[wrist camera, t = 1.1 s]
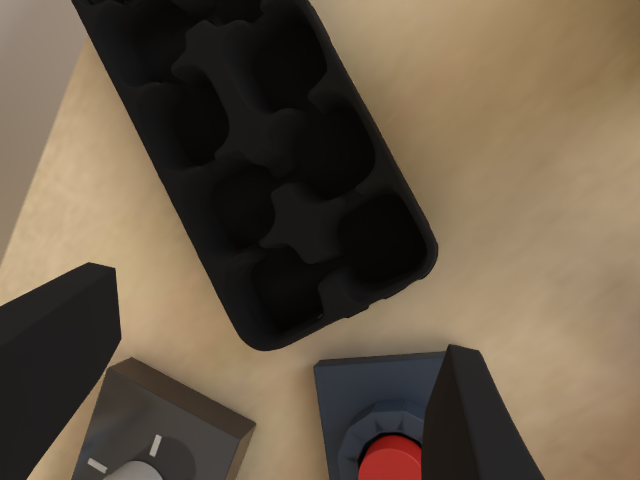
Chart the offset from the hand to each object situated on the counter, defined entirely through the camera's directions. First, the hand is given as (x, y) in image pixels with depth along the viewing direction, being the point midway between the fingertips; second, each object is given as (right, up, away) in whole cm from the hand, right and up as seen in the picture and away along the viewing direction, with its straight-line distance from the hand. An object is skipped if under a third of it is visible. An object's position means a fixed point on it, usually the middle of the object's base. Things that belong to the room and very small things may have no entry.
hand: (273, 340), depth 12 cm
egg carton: (-3, +11, +22) cm, 25 cm away
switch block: (+6, -10, +21) cm, 24 cm away
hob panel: (-10, -14, +26) cm, 31 cm away
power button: (+5, -10, +18) cm, 22 cm away
